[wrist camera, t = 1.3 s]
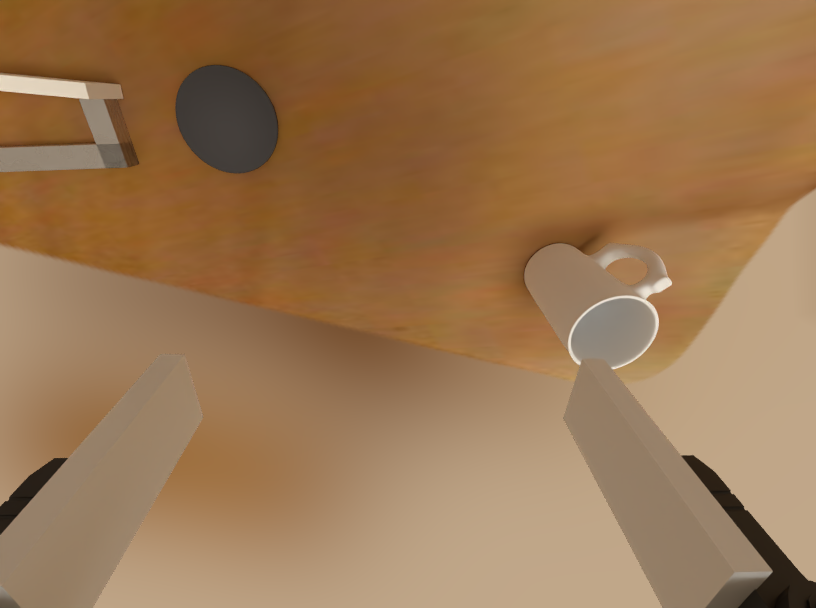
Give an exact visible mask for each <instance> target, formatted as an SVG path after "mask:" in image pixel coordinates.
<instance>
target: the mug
mask: <svg viewBox="0 0 816 608" xmlns="http://www.w3.org/2000/svg"><path fill="white" fill-rule="evenodd" d="M621 258H635V259H639V260H641V261H643V262H645V263H646V264H647V267H648V271H647V274H646V276H645V277H644V278H643V279H642V280H641V281H640V282H638V283H636V284H634V285H626V284H624V283H622V282H621V281H619V280H618V279H617V278H615V277H614V276H613V275H611V274H610V273H609V272H607V271H606V270H605V268H606V267H607V266H608V265H609V264H610V263H612V262H613V261H615V260H617V259H621ZM524 281H525V285H526V287H527V289H528V290H529V292H530V294H531V295H532V297H533V299H534V300H535V302H536V303H537V305H538V306H539V308H540V309H541V311H542V312H543V314H544V316H545V317H546V319H547V320H548V322H549V323H550V325H551V326H552V328H553V330H554V331H555V333H556V334H557V336H558V337H559V339H560V340H561V342H562V343H563V345H564V346H565V348H566V349H567V350H568V352H569V353H570V356H571V357H572V359H573V360H574V361H575V362H576V363H577V364H578V365H580V364H581V361H582V359H604V360H605V361H606V362H607V363H608V365H609V366H610V367H611V368H612V369H616V368H619V367H622V366H624V365H626V364H628V363H630V362H632V361H634V360H635V359H637V358H638V357H639V356H641V355H642V354H643V353H644V352H645V351H646V350H647V349H648V347H649V346H650V345H651V343H652V342H653V340H654V338H655V336H656V334H657V331H658V325H659V319H658V314H657V311H656V309H655V308H654V306H653V305H652V304H651V303H650V302H648V301H647V300H646V298H647V297H648V296H649V295H650V294H652V293H659V292H661V291H663V290H664V289H666V288H667V287H669V286H671V285H672V282H671V280H670V279H669V278H668V276H667V272H666V269H665V266H664V263H663V261H662V260H661V258H660V257H659V256H658V254H656V253H655V252H654V251H652V250H650V249H648V248H645V247H641V246H636V245H628V244H617V243H609V244H607V245H605V246H604V247H603V248H602V249H600V250H599V251H598V252H596V253H594V254H592V255H585V254H583V253H582V252H581V251H579V250H578V249H577V248H575V247H573V246H571V245H569V244H563V243H557V244H551V245H548V246H546V247H544V248H542V249H540V250H539V251H537V252H536V253H535V254H534V255H533V256H532V257H531V259H530V260H529V262H528V263H527V265H526V268H525V272H524Z"/></svg>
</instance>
